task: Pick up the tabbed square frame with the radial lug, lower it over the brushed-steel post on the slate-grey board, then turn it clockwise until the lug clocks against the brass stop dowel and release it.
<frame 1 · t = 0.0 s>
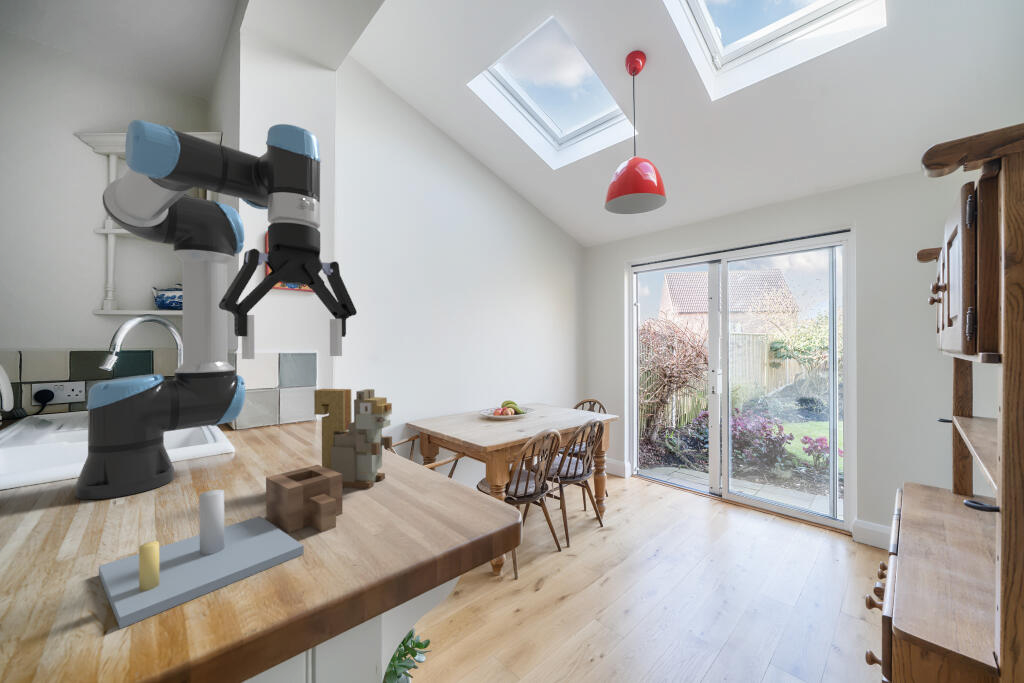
hand: (295, 357, 65), 28 cm above the counter, fingers open, 13 cm apart
tabbed square frame: (328, 529, 65), on the counter
post board: (212, 558, 56), on the counter
toy: (353, 482, 87), on the counter
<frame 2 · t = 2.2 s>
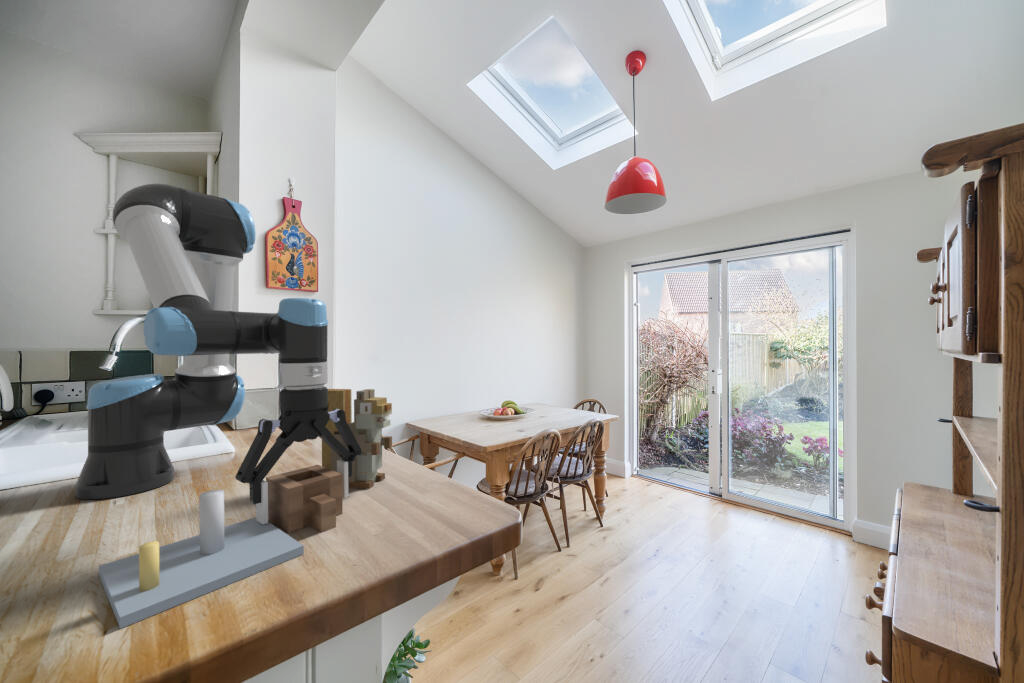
hand: (305, 508, 70), 1 cm above the counter, fingers open, 13 cm apart
nothing on the counter moved.
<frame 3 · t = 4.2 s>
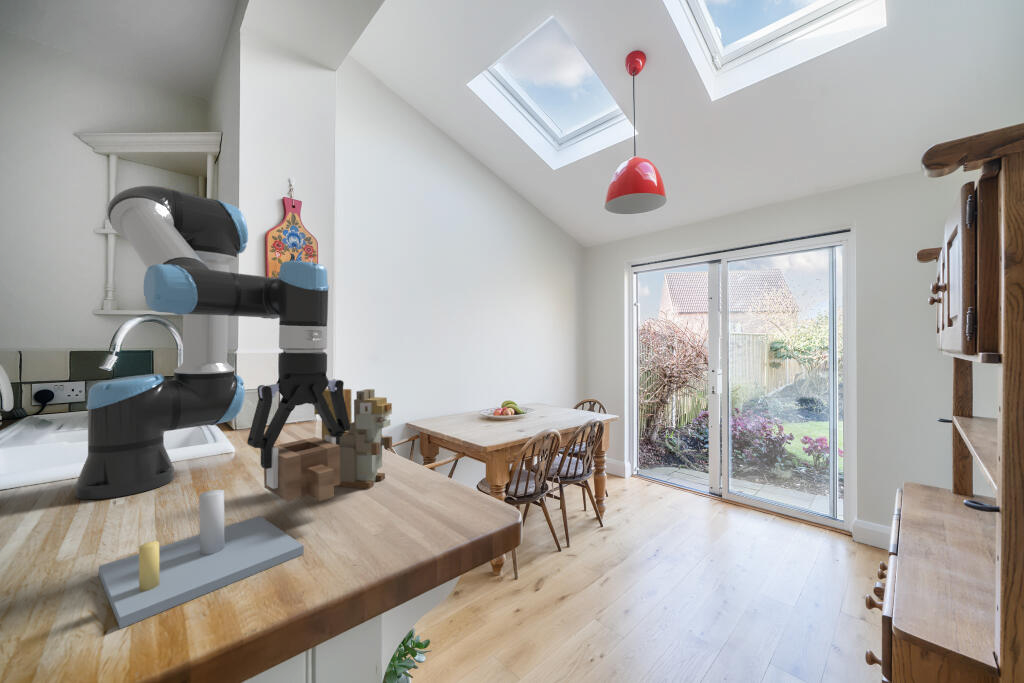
hand: (302, 478, 71), 6 cm above the counter, fingers closed on tabbed square frame, 9 cm apart
tabbed square frame: (326, 498, 66), point 5 cm above the counter, touching gripper
everything else where it was.
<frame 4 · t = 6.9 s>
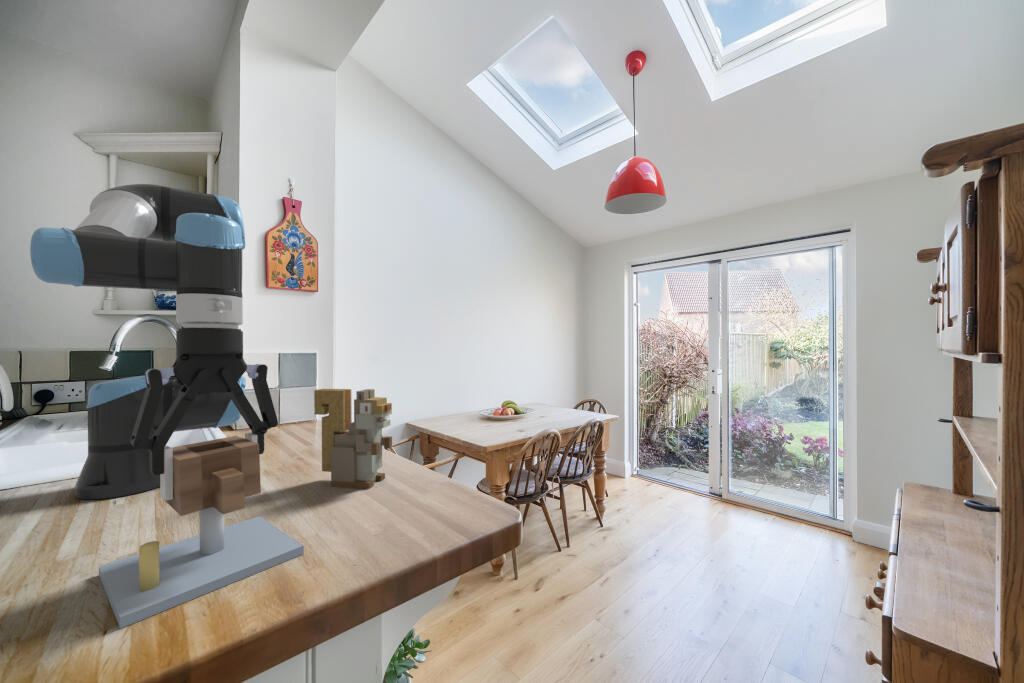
hand: (211, 486, 56), 10 cm above the counter, fingers closed on tabbed square frame, 9 cm apart
tabbed square frame: (234, 511, 51), point 9 cm above the counter, touching gripper
everything else where it was.
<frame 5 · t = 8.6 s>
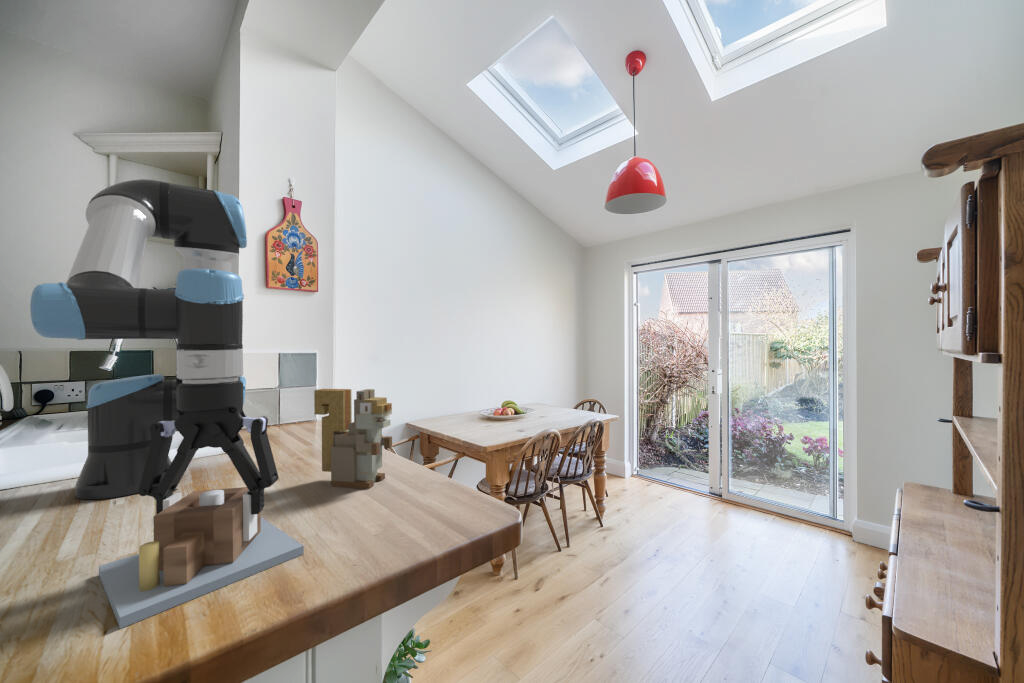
hand: (212, 539, 56), 3 cm above the counter, fingers closed on tabbed square frame, 9 cm apart
tabbed square frame: (175, 584, 48), point 1 cm above the counter, touching gripper
everything else where it was.
when the fingers open (3 cm above the counter, at t = 9.8 s): tabbed square frame stays where it is, resting on post board.
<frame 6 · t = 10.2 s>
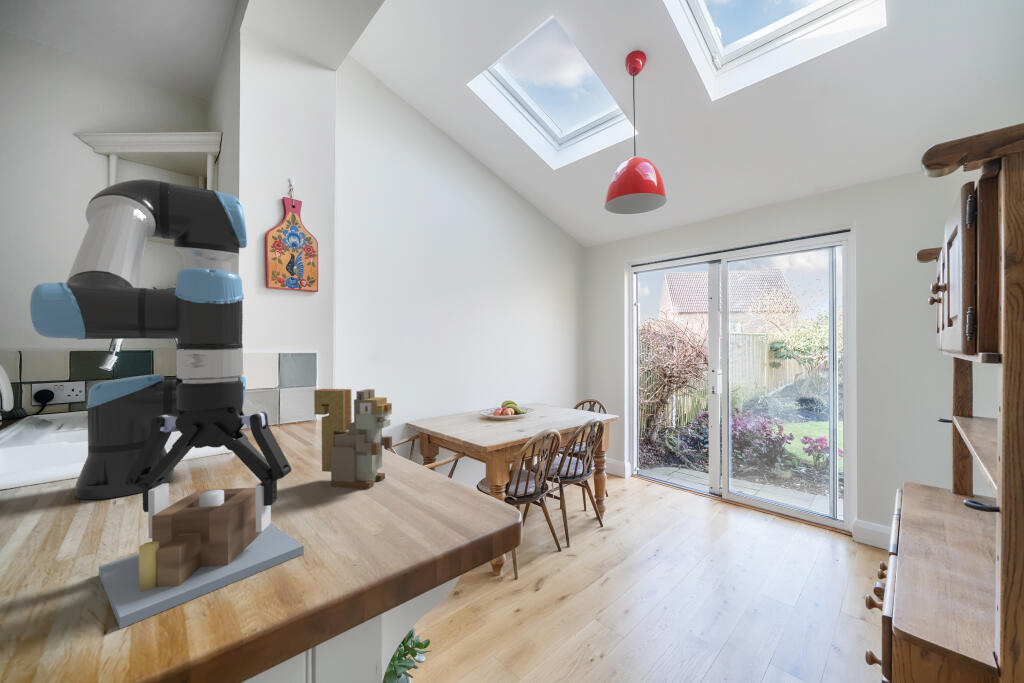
hand: (212, 530, 56), 4 cm above the counter, fingers open, 13 cm apart
tabbed square frame: (168, 586, 48), point 1 cm above the counter, touching post board
everything else where it was.
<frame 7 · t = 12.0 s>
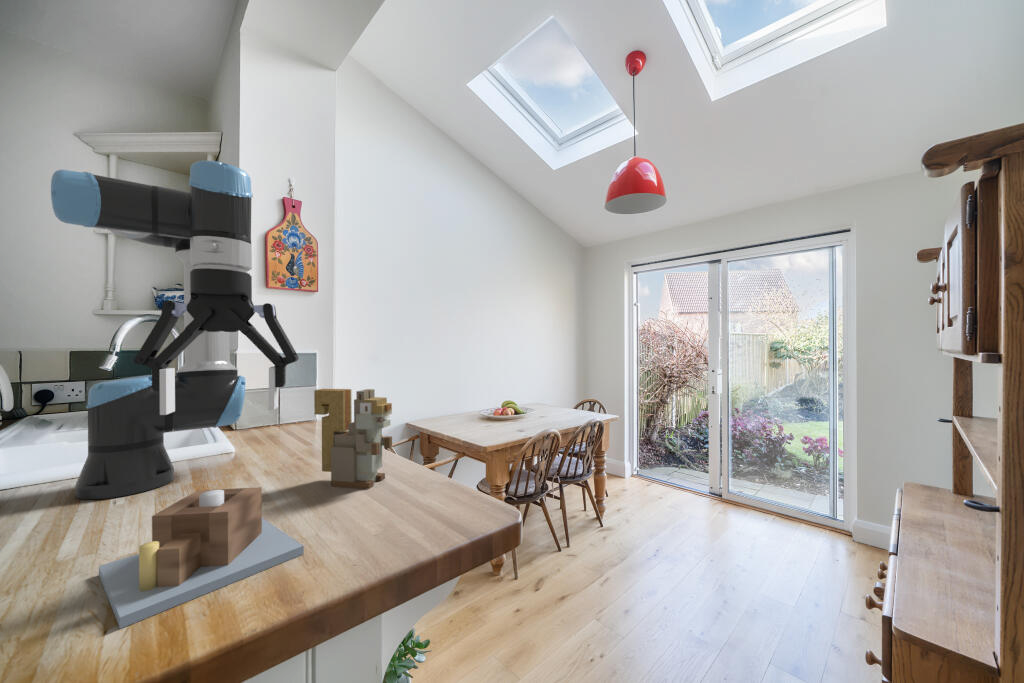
hand: (222, 410, 61), 20 cm above the counter, fingers open, 13 cm apart
nothing on the counter moved.
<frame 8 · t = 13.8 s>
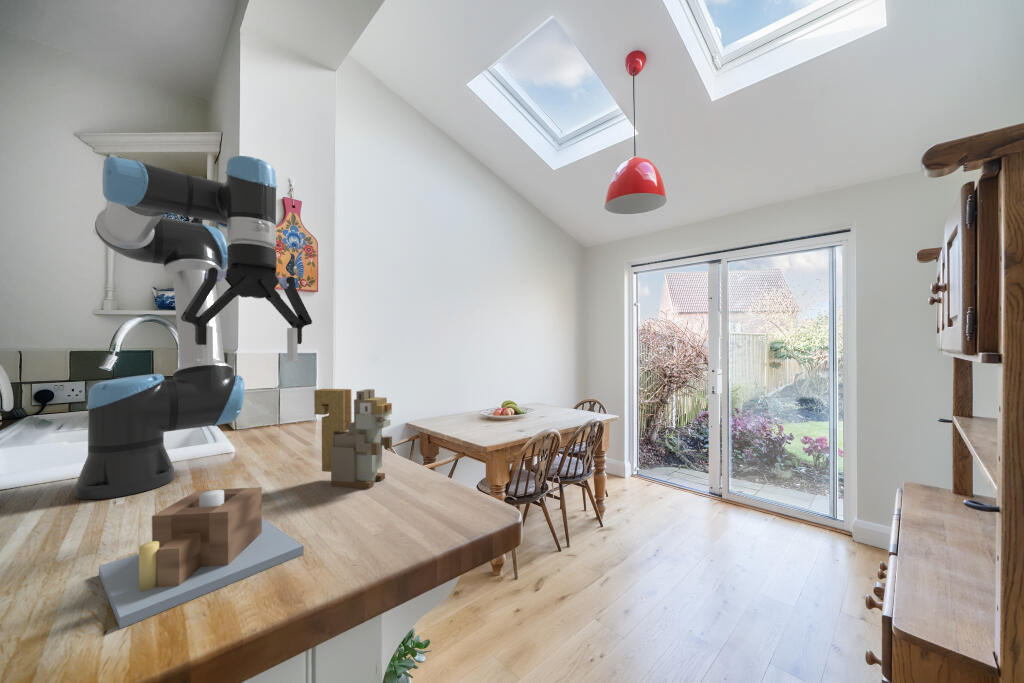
hand: (253, 363, 73), 27 cm above the counter, fingers open, 13 cm apart
nothing on the counter moved.
at the end: tabbed square frame 0.1 cm from the target spot on the post board, point 1.2 cm above the post board's base; tabbed square frame tilted 0°; the gripper is holding nothing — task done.
